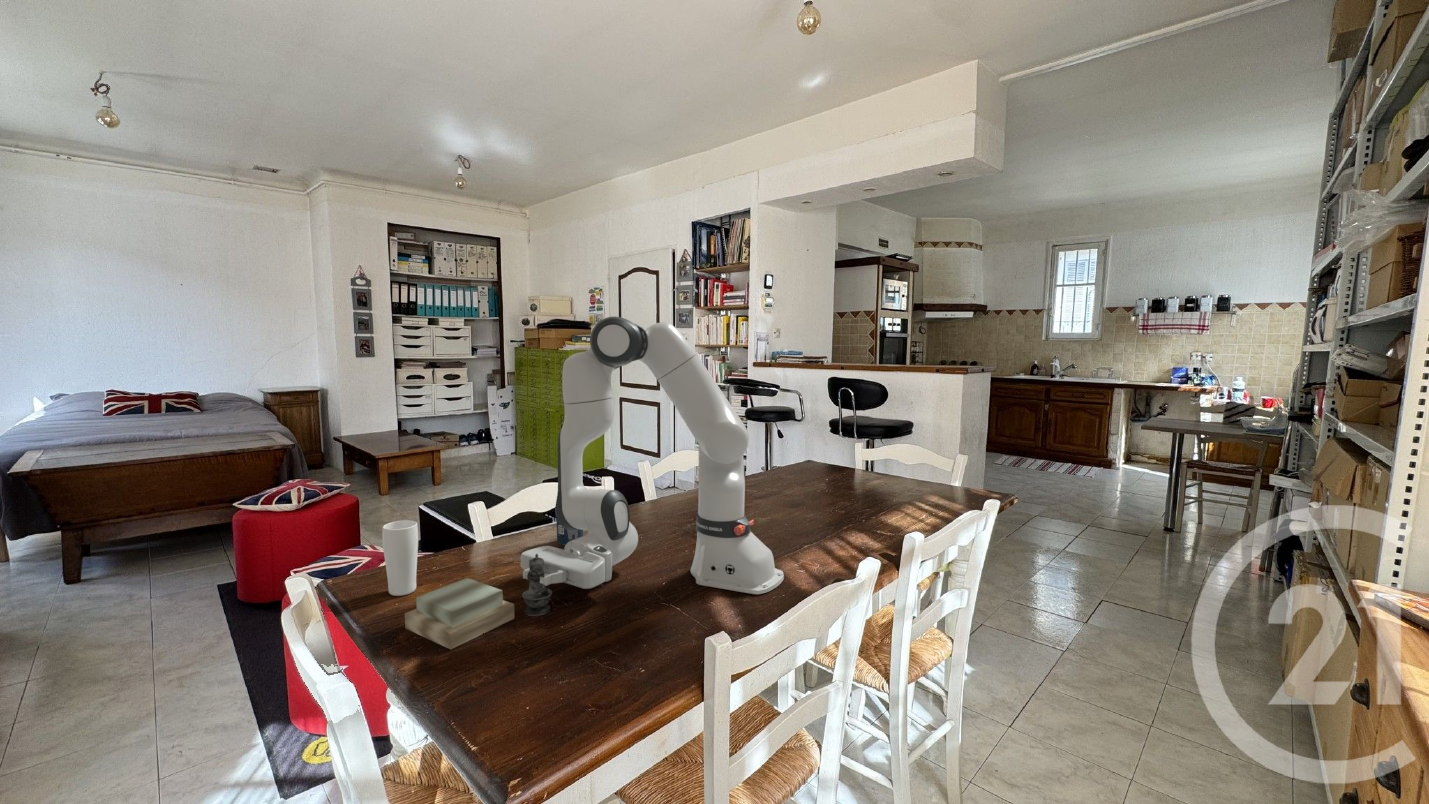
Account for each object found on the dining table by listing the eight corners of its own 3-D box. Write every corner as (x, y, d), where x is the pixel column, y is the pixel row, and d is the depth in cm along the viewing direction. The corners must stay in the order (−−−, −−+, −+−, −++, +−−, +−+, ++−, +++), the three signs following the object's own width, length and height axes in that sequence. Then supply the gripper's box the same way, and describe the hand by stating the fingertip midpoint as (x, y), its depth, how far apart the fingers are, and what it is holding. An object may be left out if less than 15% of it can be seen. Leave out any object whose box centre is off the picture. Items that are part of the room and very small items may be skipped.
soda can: (570, 536, 165) (569, 494, 163) (588, 540, 161) (588, 498, 160) (551, 543, 159) (551, 500, 157) (570, 548, 155) (569, 504, 154)
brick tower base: (514, 618, 116) (513, 589, 115) (450, 649, 104) (449, 617, 103) (469, 601, 123) (468, 573, 122) (405, 628, 111) (404, 598, 110)
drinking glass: (384, 600, 122) (381, 531, 121) (385, 588, 128) (382, 522, 127) (420, 595, 126) (417, 527, 124) (419, 583, 131) (417, 518, 130)
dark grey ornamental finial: (526, 604, 122) (525, 548, 121) (554, 603, 123) (554, 548, 121) (519, 617, 116) (518, 559, 115) (549, 616, 117) (548, 558, 116)
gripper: (549, 535, 135) (499, 553, 123) (616, 553, 124) (569, 574, 112) (549, 561, 135) (499, 581, 124) (616, 581, 125) (569, 605, 113)
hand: (533, 578), depth 118 cm, fingers closed on dark grey ornamental finial, 4 cm apart
